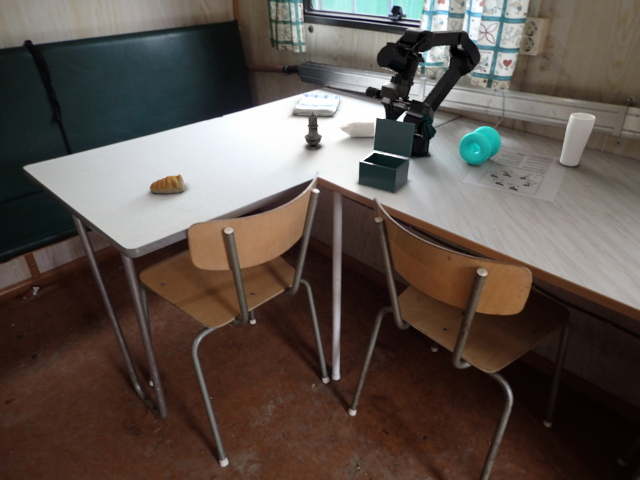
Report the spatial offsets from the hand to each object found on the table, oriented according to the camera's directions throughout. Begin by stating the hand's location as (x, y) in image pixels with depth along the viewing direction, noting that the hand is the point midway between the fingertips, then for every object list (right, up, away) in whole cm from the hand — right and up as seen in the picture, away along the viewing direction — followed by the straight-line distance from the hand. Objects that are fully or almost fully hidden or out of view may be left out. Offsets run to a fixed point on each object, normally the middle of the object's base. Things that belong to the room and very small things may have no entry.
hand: (387, 129), depth 137 cm
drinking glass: (+57, -10, +5) cm, 58 cm away
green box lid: (0, -4, -8) cm, 9 cm away
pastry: (-63, -19, -6) cm, 66 cm away
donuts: (+30, -8, +8) cm, 32 cm away
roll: (-7, +4, +28) cm, 29 cm away
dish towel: (-21, +23, +57) cm, 65 cm away
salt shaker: (-22, -1, +20) cm, 30 cm away
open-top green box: (-2, -16, -4) cm, 17 cm away
